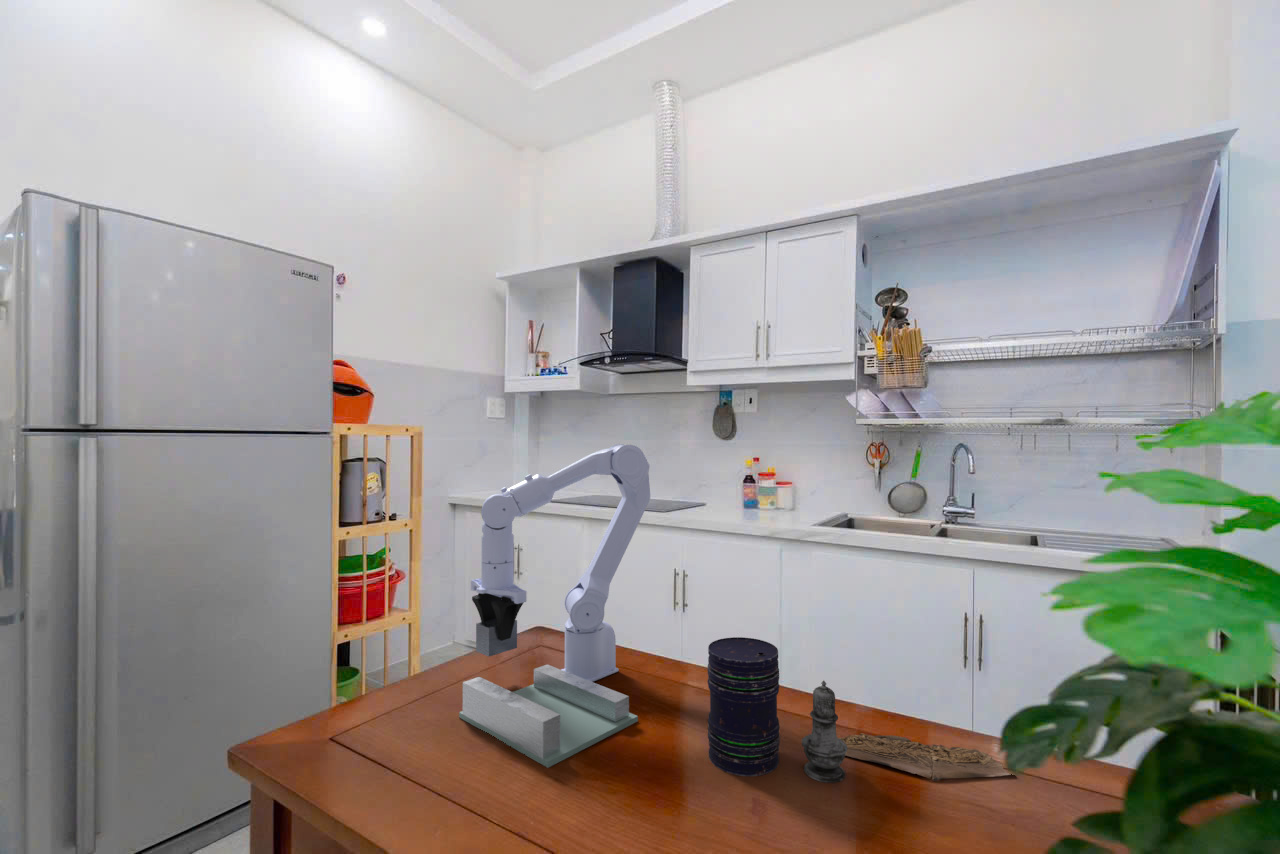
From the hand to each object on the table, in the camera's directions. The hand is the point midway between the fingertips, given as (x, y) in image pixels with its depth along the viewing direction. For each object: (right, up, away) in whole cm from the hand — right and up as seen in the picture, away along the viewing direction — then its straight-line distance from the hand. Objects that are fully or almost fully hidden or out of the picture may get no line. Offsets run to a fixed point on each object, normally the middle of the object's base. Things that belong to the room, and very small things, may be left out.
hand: (497, 636), depth 110 cm
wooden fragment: (+63, -8, -26) cm, 69 cm away
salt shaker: (+50, -8, -29) cm, 59 cm away
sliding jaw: (+16, -7, -10) cm, 20 cm away
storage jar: (+40, -8, -26) cm, 48 cm away
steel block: (0, -2, 0) cm, 2 cm away
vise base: (+11, -8, -14) cm, 20 cm away
